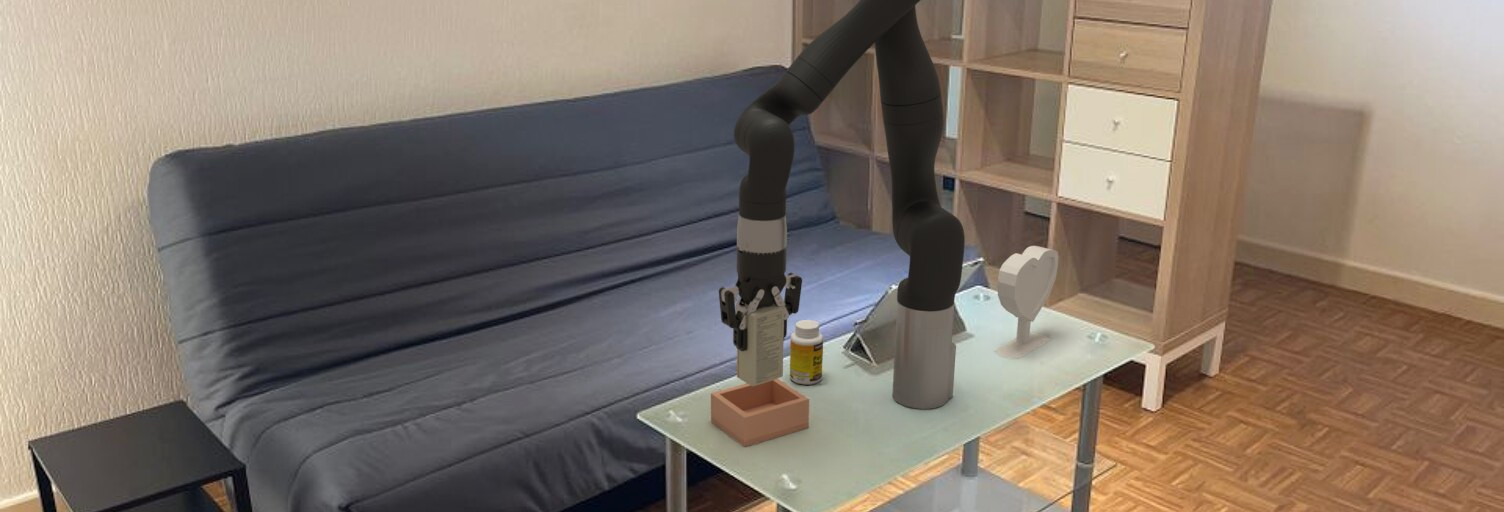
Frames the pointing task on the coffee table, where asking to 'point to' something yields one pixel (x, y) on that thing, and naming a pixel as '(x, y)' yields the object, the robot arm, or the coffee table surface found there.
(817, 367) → the supplement bottle
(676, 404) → the coffee table surface
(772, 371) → the skincare box
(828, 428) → the coffee table surface
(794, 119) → the robot arm
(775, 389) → the box
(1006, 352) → the heart sculpture
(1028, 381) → the coffee table surface
